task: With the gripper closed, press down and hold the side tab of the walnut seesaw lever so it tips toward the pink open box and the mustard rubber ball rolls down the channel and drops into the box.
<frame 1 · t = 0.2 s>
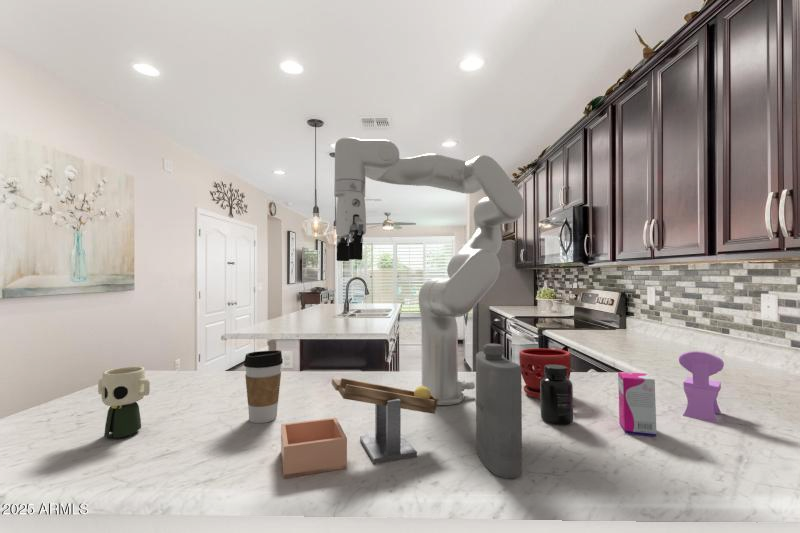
hand: (348, 260, 95), 36 cm above the counter, tool pointing down, fingers open, 9 cm apart
supplement bottle: (556, 421, 88), on the counter
pivot stand: (387, 448, 73), on the counter
coffee cup: (263, 419, 89), on the counter
toy chair: (702, 415, 91), on the counter
pink open box: (312, 459, 69), on the counter
supplement box: (636, 431, 82), on the counter
flask: (495, 458, 70), on the counter
lever: (383, 391, 76), point 10 cm above the counter, hinge at -15.0°, touching ball
character mug: (123, 435, 80), on the counter
ball: (422, 394, 76), point 9 cm above the counter, tilted 41°, touching lever
plant pot: (544, 396, 106), on the counter
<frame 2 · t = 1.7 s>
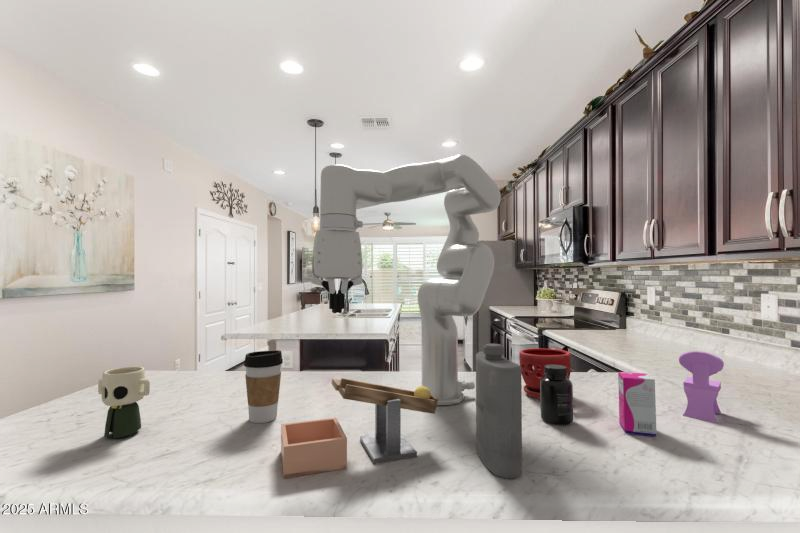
hand: (336, 312, 82), 25 cm above the counter, tool pointing down, fingers closed
nothing on the counter moved.
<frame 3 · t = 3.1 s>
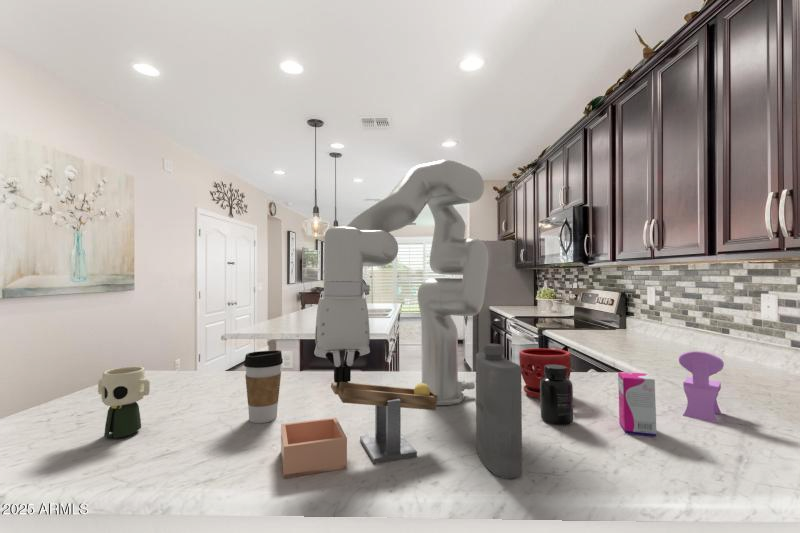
hand: (342, 385, 76), 11 cm above the counter, tool pointing down, fingers closed
lever: (382, 391, 76), point 10 cm above the counter, hinge at -10.5°, touching ball, gripper
ball: (422, 391, 76), point 10 cm above the counter, tilted 36°, touching lever
everything else where it was.
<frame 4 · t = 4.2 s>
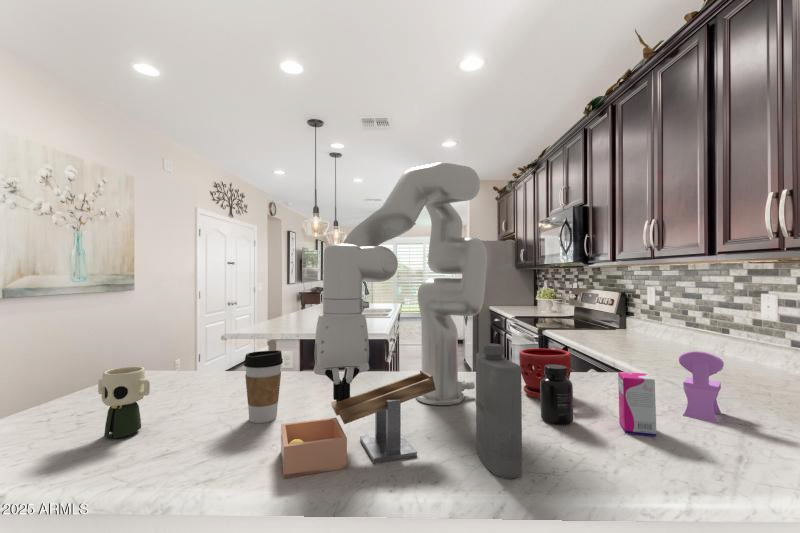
hand: (341, 402, 76), 8 cm above the counter, tool pointing down, fingers closed
lever: (381, 392, 76), point 10 cm above the counter, hinge at 13.8°, touching gripper
ball: (296, 449, 68), point 2 cm above the counter, tilted 134°, touching pink open box
everything else where it was.
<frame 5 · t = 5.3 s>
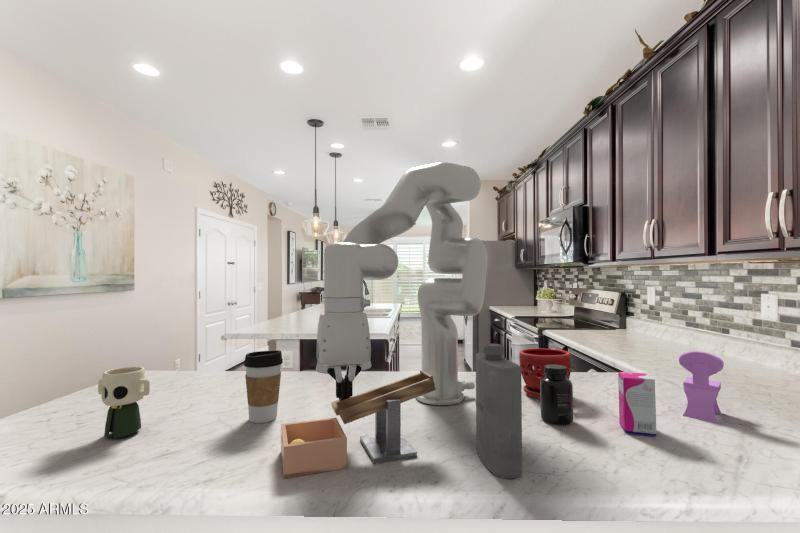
hand: (344, 400, 76), 8 cm above the counter, tool pointing down, fingers closed
lever: (381, 392, 76), point 10 cm above the counter, hinge at 13.8°
ball: (297, 449, 68), point 2 cm above the counter, tilted 126°, touching pink open box
everything else where it was.
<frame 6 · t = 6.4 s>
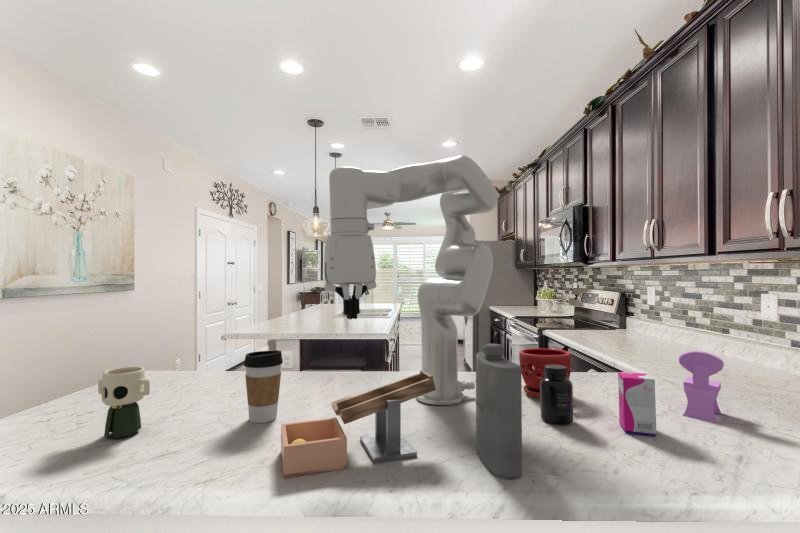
hand: (351, 318, 81), 24 cm above the counter, tool pointing down, fingers closed
ball: (298, 448, 68), point 2 cm above the counter, tilted 118°, touching pink open box
everything else where it was.
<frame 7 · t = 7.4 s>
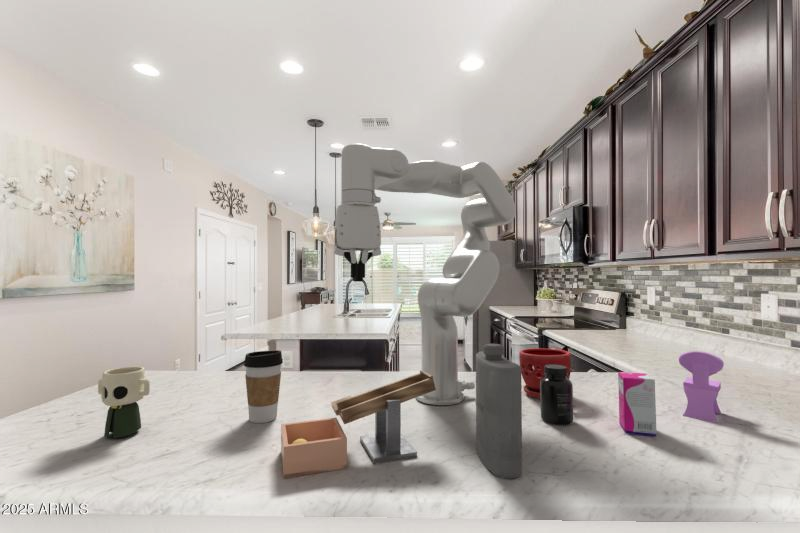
hand: (357, 281, 89), 31 cm above the counter, tool pointing down, fingers closed
ball: (299, 448, 68), point 2 cm above the counter, tilted 111°, touching pink open box
everything else where it was.
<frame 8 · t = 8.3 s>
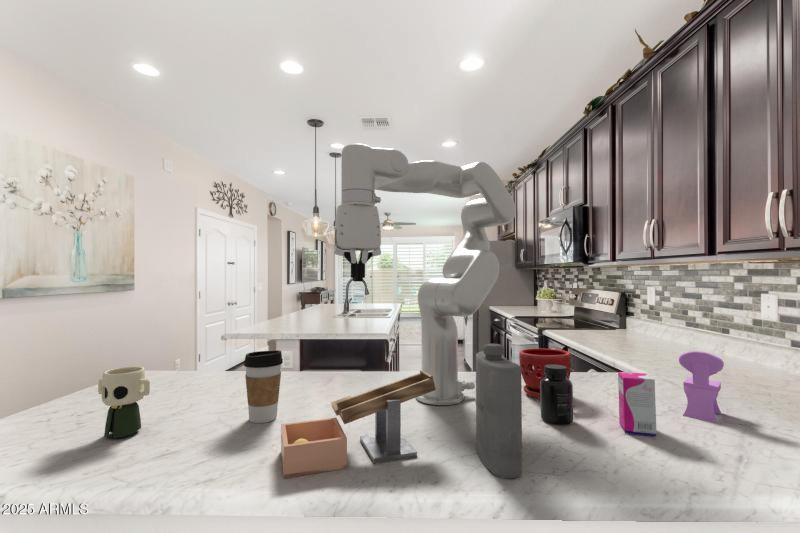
hand: (357, 281, 89), 31 cm above the counter, tool pointing down, fingers closed
ball: (301, 448, 68), point 2 cm above the counter, tilted 105°, touching pink open box
everything else where it was.
at the end: ball inside the target area on the pink open box (2.0 cm from its centre), point 2.2 cm above the pink open box's base; lever at +14° (first picture: -15°) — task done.
